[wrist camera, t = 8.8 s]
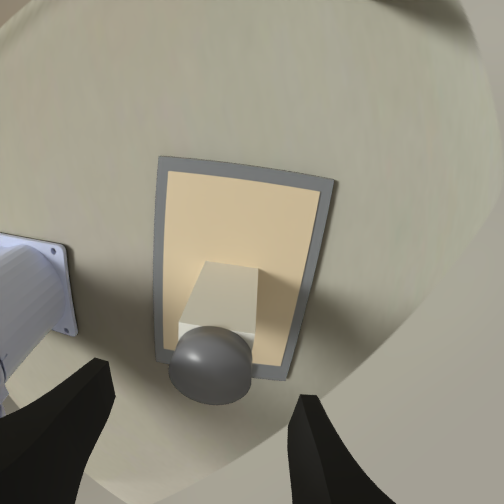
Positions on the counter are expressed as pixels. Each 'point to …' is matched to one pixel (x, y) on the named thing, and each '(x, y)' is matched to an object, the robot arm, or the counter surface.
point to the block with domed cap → (217, 335)
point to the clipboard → (238, 246)
